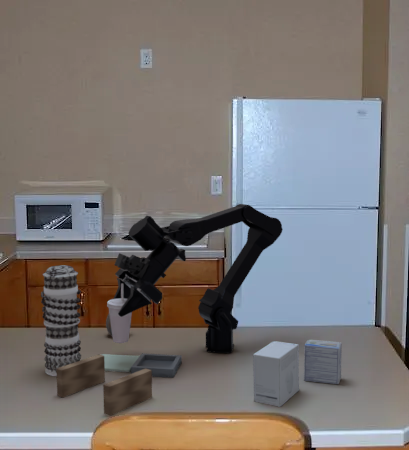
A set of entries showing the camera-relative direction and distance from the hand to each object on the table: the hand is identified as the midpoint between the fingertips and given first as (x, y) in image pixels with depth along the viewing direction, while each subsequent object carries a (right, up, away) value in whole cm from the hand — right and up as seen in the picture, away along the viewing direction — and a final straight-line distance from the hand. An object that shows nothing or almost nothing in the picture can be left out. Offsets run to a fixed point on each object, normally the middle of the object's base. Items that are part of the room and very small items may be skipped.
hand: (115, 312), depth 155 cm
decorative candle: (-12, -14, 0) cm, 19 cm away
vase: (-3, -10, +28) cm, 30 cm away
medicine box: (+48, -15, -7) cm, 51 cm away
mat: (-1, -13, +4) cm, 14 cm away
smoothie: (+1, -7, +2) cm, 8 cm away
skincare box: (+37, -16, -16) cm, 43 cm away
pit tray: (+10, -14, 0) cm, 17 cm away
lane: (0, -16, -16) cm, 23 cm away
